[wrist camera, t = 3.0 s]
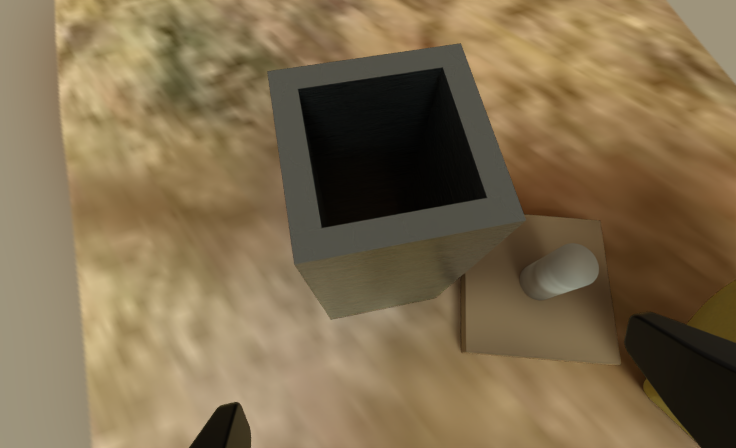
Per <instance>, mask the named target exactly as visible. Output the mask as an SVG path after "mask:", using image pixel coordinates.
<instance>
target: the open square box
mask: <svg viewBox="0 0 736 448" xmlns="http://www.w3.org/2000/svg"><path fill="white" fill-rule="evenodd" d="M267 72H268V80H269V87H270V94H271V101H272V108H273V115H274V122H275V129H276V137H277V144H278V151H279V158H280V165H281V172H282V179H283V187H284V194H285V201H286V208H287V215H288V222H289V229H290V236H291V244H292V251H293V258H294V265H295V266H296V268H297V269H298V271H299V272H300V274H301V275H302V277H303V278H304V280H305V281H306V283H307V284H308V286H309V287H310V289H311V290H312V292H313V293H314V295H315V296H316V298H317V299H318V301H319V302H320V304H321V305H322V307H323V308H324V310H325V311H326V313H327V314H328V316H329V317H330V319H336V318H341V317H346V316H351V315H356V314H361V313H366V312H370V311H375V310H380V309H385V308H390V307H395V306H400V305H405V304H409V303H414V302H419V301H424V300H429V299H434V298H436V297H437V296H438V295H440V294H441V293H442V292H443V291H444V290H445V289H447V288H448V287H449V286H450V285H451V284H453V283H454V282H455V281H456V280H457V279H458V278H460V277H461V276H462V275H463V274H464V273H465V272H467V271H468V270H469V269H470V268H471V267H472V266H474V265H475V264H476V263H477V262H478V261H479V260H481V259H482V258H483V257H484V256H485V255H486V254H488V253H489V252H490V251H491V250H492V249H493V248H495V247H496V246H497V245H498V244H499V243H500V242H502V241H503V240H504V239H505V238H506V237H507V236H509V235H510V234H511V233H512V232H513V231H514V230H516V229H517V228H518V227H519V226H520V225H521V224H523V223H524V222H525V221H526V218H525V216H524V213H523V210H522V208H521V205H520V202H519V199H518V197H517V194H516V191H515V189H514V186H513V183H512V181H511V178H510V175H509V172H508V170H507V167H506V164H505V162H504V159H503V156H502V154H501V151H500V148H499V145H498V143H497V140H496V137H495V135H494V132H493V129H492V127H491V124H490V121H489V118H488V116H487V113H486V110H485V108H484V105H483V102H482V100H481V97H480V94H479V91H478V89H477V86H476V83H475V81H474V78H473V75H472V73H471V70H470V67H469V64H468V62H467V59H466V56H465V54H464V51H463V48H462V45H461V43H460V44H453V45H446V46H440V47H433V48H426V49H419V50H412V51H405V52H398V53H391V54H384V55H377V56H370V57H363V58H357V59H350V60H343V61H336V62H329V63H322V64H315V65H308V66H301V67H294V68H287V69H280V70H274V71H267Z"/></svg>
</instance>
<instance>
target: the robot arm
mask: <svg viewBox="0 0 736 448" xmlns="http://www.w3.org/2000/svg"><path fill="white" fill-rule="evenodd" d="M624 343H625V348H626V350H627V352H628V353H629V355H630V356H631V358H632V359H633V360H634V362H635V363H636V364H637V366H638V367H639V369H640V370H641V371H642V373H643V374H644V376H645V377H646V378H647V380H648V381H649V382H650V384H651V385H652V387H653V388H654V389H655V391H656V392H657V394H658V395H659V396H660V398H661V399H662V401H663V402H664V403H665V405H666V406H667V407H668V409H669V410H670V411H671V413H672V414H673V415H674V416H675V417H676V419H677V420H678V421H679V422H680V424H681V425H682V426H683V427H684V428H685V429H686V431H687V432H688V433H689V434H690V435H691V436H692V438H693V439H694V440H695V441H696V442H697V443H698V445H699V446H700V447H701V448H736V343H735V342H733V341H730V340H727V339H724V338H722V337H719V336H716V335H713V334H711V333H708V332H705V331H702V330H700V329H697V328H694V327H692V326H689V325H686V324H683V323H681V322H678V321H675V320H672V319H670V318H667V317H664V316H661V315H659V314H656V313H653V312H643V313H639V314H634V315H632V316H631V317H630V319H629V322H628V326H627V331H626V335H625V340H624ZM189 448H251V431H250V426H249V424H248V421H247V419H246V416H245V414H244V411H243V409H242V406H241V404H240V403H238V402H234V403H229V404H224V405H221V406H219V407H218V408H217V409H216V410H215V412H214V413H213V415H212V416H211V417H210V419H209V420H208V422H207V423H206V425H205V426H204V427H203V429H202V430H201V432H200V433H199V434H198V436H197V437H196V439H195V440H194V441H193V443H192V444H191V446H190V447H189Z"/></svg>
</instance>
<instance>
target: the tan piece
mask: <svg viewBox="0 0 736 448" xmlns="http://www.w3.org/2000/svg"><path fill="white" fill-rule="evenodd" d="M524 216H525V218H526V221H525V222H524V223H523V224H521V225H520V226H519V227H518V228H517V229H516V230H514V231H513V232H512V233H511V234H510V235H509V236H507V237H506V238H505V239H504V240H503V241H502V242H500V243H499V244H498V245H497V246H496V247H495V248H493V249H492V250H491V251H490V252H489V253H488V254H486V255H485V256H484V257H483V258H482V259H481V260H479V261H478V262H477V263H476V264H475V265H474V266H472V267H471V268H470V269H469V270H468V271H467V272H465V273H464V274H463V275H462V276H461V353H472V354H484V355H496V356H508V357H520V358H532V359H544V360H556V361H568V362H580V363H592V364H604V365H621V360H620V353H619V346H618V339H617V333H616V326H615V319H614V312H613V305H612V298H611V291H610V284H609V277H608V270H607V263H606V256H605V249H604V243H603V236H602V229H601V222H600V220H587V219H575V218H563V217H550V216H538V215H525V214H524Z"/></svg>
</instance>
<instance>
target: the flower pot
mask: <svg viewBox="0 0 736 448" xmlns="http://www.w3.org/2000/svg"><path fill="white" fill-rule="evenodd" d="M686 325H689V326H692V327H694V328H697V329H700V330H702V331H705V332H708V333H711V334H713V335H716V336H719V337H722V338H724V339H727V340H730V341H733V342H735V343H736V280H735V281H733V282H731V283H730V284H728V285H727V286H725V287H724V288H722V289H721V290H720V291H718V292H717V293H716V294H715V295H713V296H712V297H711V298H710V299H709V300H708V301H707V302H706V303H705V304H704V305H703V306H702V307H701V308H700V309H699V310H698V311H697V312H696V314H695V315H694V316H693V317H692V318H691V319H690V321H689V322H688V323H687V324H686ZM643 389H644V392H645V393H646V395H647V396H648V397H649V398H650V399H651V400H652V401H653V402H654V403H655V404H656V405H657V406H658V407H660V408H661V409H662V410H663V411H664V412H665V413H666V414H667V415H668V416H669V417H670V418H671V419H672V420H673V421H674V422H676V423H677V424H678V425H679V426H680V427H681V428H682V429H683V430H684V431H685V432H686V433H687V434H688V435H689V436H690V437H692V436H691V435H690V434H689V433H688V432H687V431H686V429H685V428H684V427H683V426H682V425H681V424H680V422H679V421H678V420H677V419H676V417H675V416H674V415H673V414H672V413H671V411H670V410H669V409H668V407H667V406H666V405H665V403H664V402H663V401H662V399H661V398H660V396H659V395H658V394H657V392H656V391H655V389H654V388H653V387H652V385H651V384H650V382H649V381H648V380H647V378H646V380H645V382H644V385H643Z"/></svg>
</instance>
